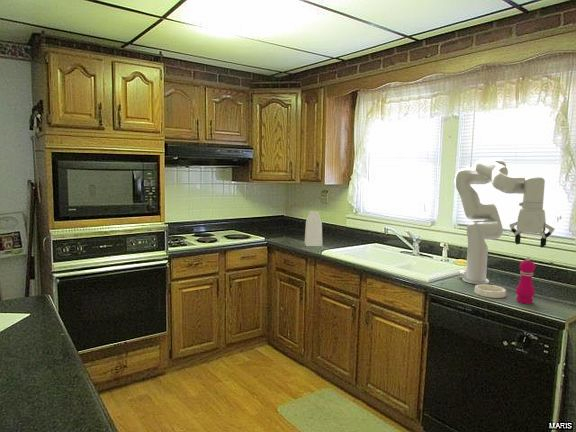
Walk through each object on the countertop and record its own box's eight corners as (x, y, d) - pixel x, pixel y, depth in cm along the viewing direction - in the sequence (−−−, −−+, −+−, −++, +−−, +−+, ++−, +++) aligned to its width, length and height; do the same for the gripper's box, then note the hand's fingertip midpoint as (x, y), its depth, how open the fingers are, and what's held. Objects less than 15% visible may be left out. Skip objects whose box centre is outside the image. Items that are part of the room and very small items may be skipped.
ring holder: (469, 292, 193) (469, 287, 193) (481, 287, 202) (482, 282, 202) (498, 299, 183) (498, 294, 183) (510, 294, 192) (510, 288, 192)
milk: (320, 245, 310) (320, 210, 306) (322, 247, 298) (323, 212, 295) (304, 244, 309) (304, 210, 306) (305, 247, 297) (306, 212, 294)
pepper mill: (521, 298, 186) (525, 254, 184) (537, 302, 180) (541, 258, 178) (511, 300, 183) (515, 256, 181) (527, 305, 177) (531, 259, 174)
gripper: (507, 205, 180) (505, 243, 182) (552, 207, 168) (549, 249, 169) (514, 204, 185) (512, 242, 187) (558, 207, 172) (555, 247, 174)
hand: (529, 245), depth 178 cm, fingers open, 9 cm apart
